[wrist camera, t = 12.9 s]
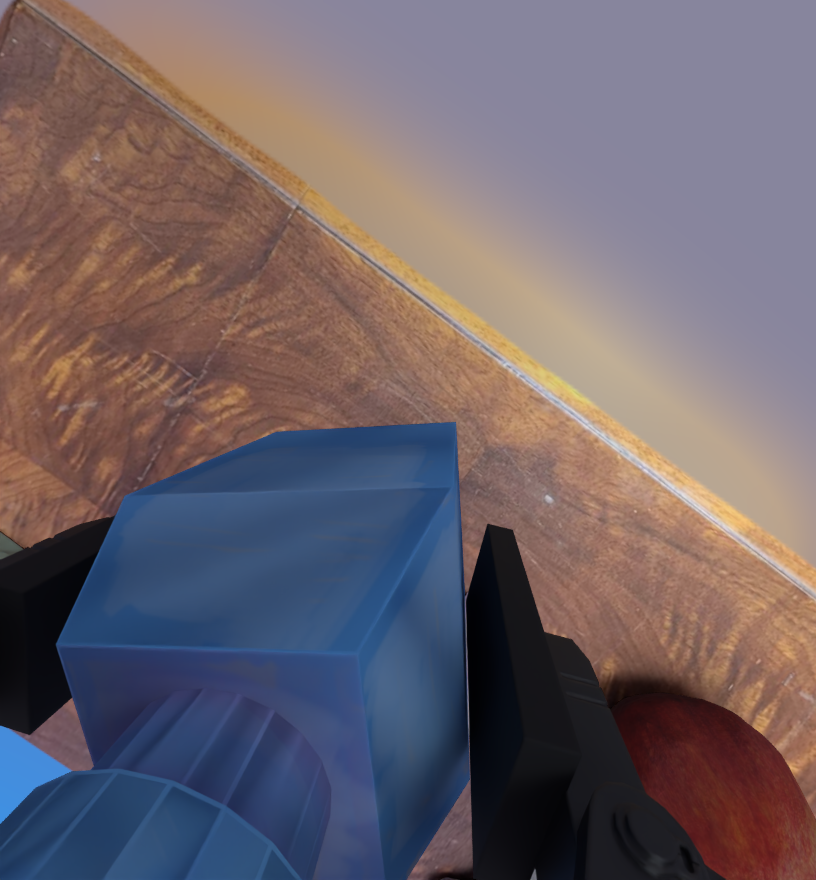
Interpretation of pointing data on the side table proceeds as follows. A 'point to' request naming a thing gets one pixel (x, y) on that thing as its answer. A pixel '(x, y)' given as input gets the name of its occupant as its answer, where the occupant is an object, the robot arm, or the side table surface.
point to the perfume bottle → (266, 670)
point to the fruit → (721, 786)
